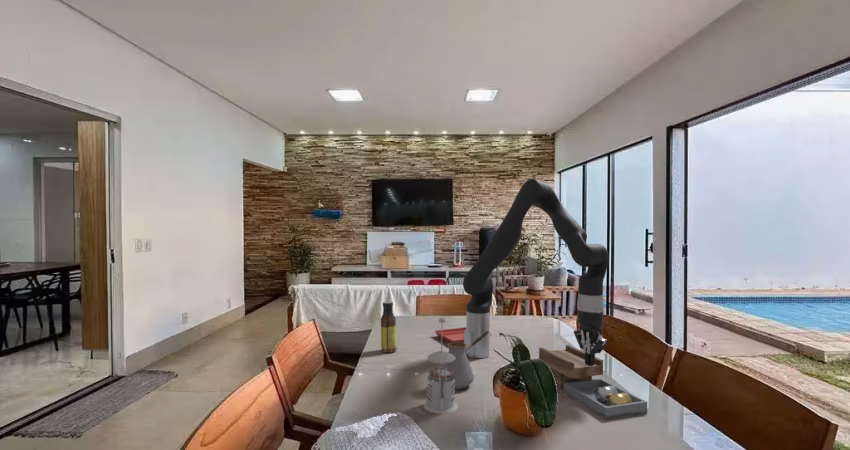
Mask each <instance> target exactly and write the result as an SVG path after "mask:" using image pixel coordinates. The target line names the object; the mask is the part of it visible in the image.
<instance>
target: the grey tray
mask: <svg viewBox="0 0 850 450" xmlns="http://www.w3.org/2000/svg"><path fill="white" fill-rule="evenodd" d="M605 386H614V387H615V388H616V389H617V391H618V393H627V394H628V395H629V396H630V398H631V401H632V403H626V404H619V405H613V406H608V404H607V402H599V401H598V400H597V399H596V397H595V394H594V391H595V389H596V388H598V387H605ZM563 393H564V394H565V393H566V394H565V395H567V396H568V395H569V396H568V397H570V398H571V397H572V398H571V399H573V400H574V399H575V401H576V402H577V403H579V404H580V405H582V406H584V407H585V408H587V409H589V410H590V411H592V412H594V413H595V414H597V415H599V416H600V417H602V418H603V419H605V420H609V419H617V418H623V417H629V416H636V415H641V414H647V413H648V401H647V400H645V399H642V398H641V397H640V396H639V397H638V396H637V395H635V394H634V393H630V392H628V391H627V390H625V389H623V388H621V387H619V386H617V385H615V384H614V383H611V382H609V381H607V380H605V379H603V378H594V379H593V378H592V380H584V381H576V382H568V383H564V388H563Z"/></svg>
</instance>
